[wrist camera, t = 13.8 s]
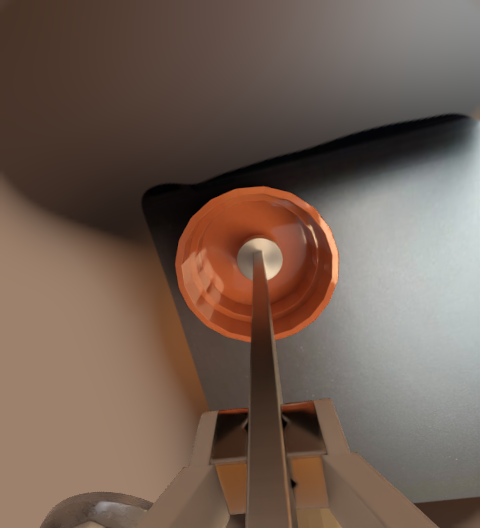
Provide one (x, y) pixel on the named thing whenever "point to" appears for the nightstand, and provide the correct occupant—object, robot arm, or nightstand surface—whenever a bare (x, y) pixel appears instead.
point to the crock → (316, 518)
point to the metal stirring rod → (265, 398)
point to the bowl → (235, 283)
